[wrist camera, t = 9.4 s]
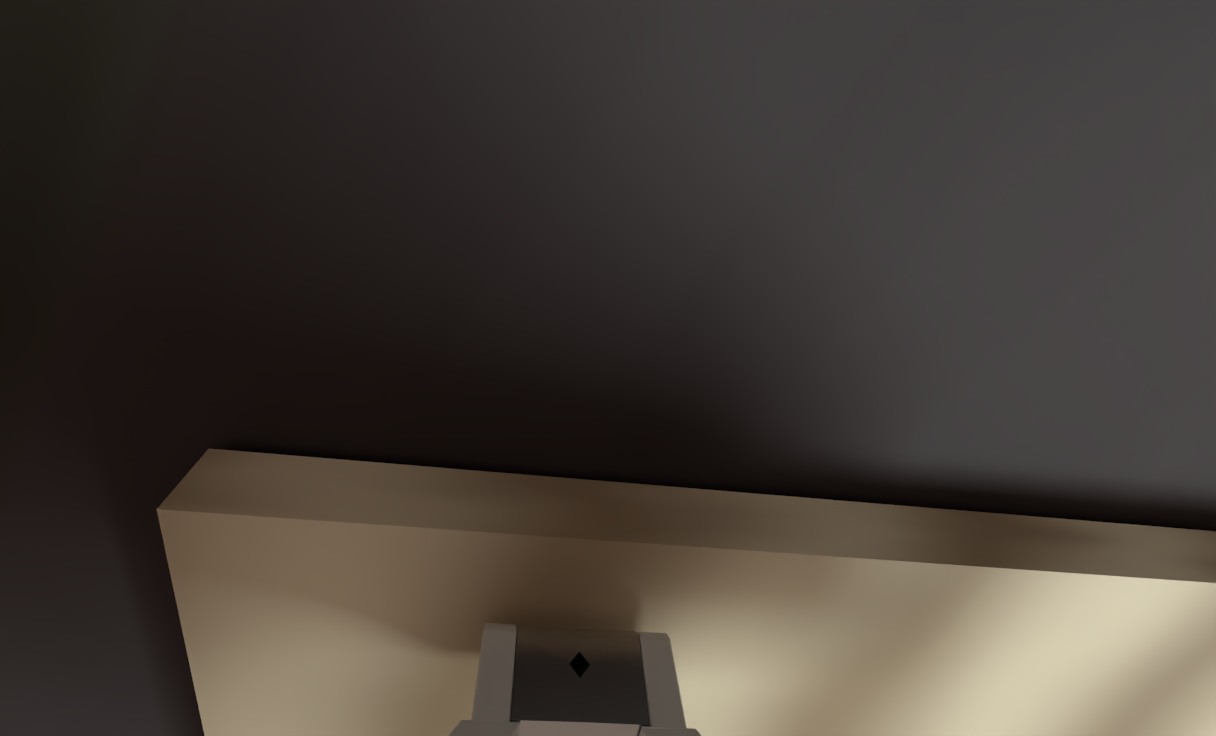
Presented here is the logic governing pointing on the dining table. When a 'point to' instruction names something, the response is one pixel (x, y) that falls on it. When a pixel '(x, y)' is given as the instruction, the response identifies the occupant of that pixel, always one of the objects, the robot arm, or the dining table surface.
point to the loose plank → (677, 603)
